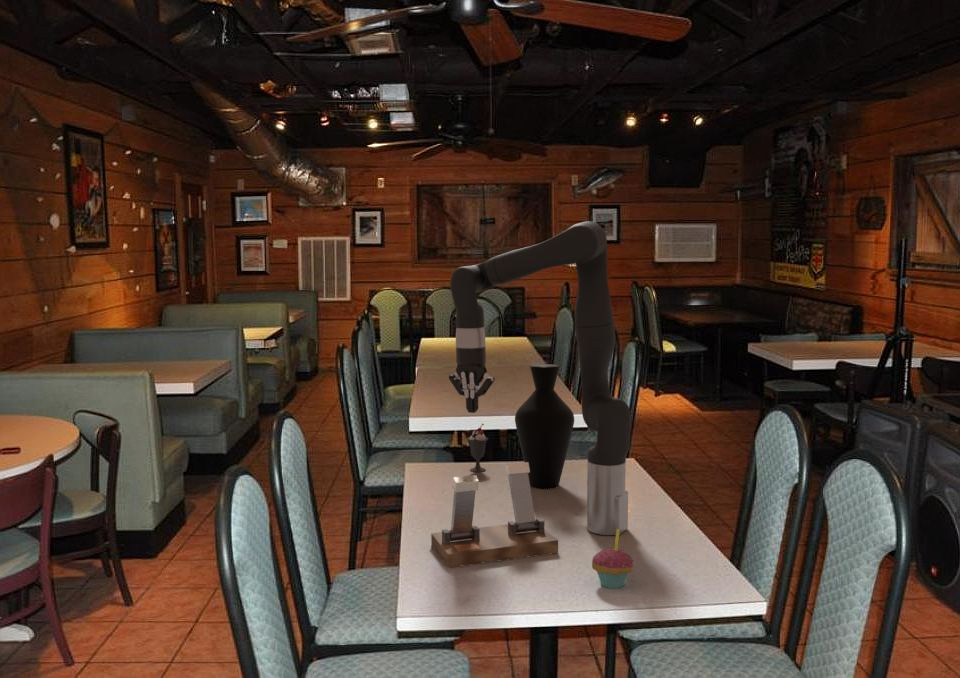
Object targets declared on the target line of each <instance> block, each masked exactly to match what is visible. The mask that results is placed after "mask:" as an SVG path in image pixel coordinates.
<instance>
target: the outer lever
mask: <svg viewBox="0 0 960 678" xmlns="http://www.w3.org/2000/svg"><path fill="white" fill-rule="evenodd" d="M479 484H480V480H479V478H478V477H477V475H476V474H472V475H471V474H470V475H463V476H454V477H452V489H453V490H454V491H453V492H454V493H453V504H452V513H451V522H450V523H451V526H450V530H448V531H449V532H450V541H457V540H465V539H472V538H473V530H472V526H473V519H474V510H475V501H476V500H475V499H476V491H478V490H479Z"/></svg>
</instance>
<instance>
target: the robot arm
mask: <svg viewBox="0 0 960 678" xmlns="http://www.w3.org/2000/svg"><path fill="white" fill-rule="evenodd" d="M572 264H573V265H574V264H575V268H576V273H577V293H576V299H575V307H574V328H575V336H576V344H577V349H578V350H577V351H578V358H579V359H578V360H579V369H580V376H581V377H580V378H581V380H580V381H581V412H582V418H583V419H582V420H583V422H584V423H585V425H586V427H588V428H589V429H590V430H593V431H595V432H597V434H596V435H597V436H596V443H595V445H593V446H591V447H590V448H589V449H588V450H587V479H586V480H587V484H586V485H587V489H586V490H587V491H586V492H587V493H586V496H587V497H586V499H587V500H586V501H587V502H586V529H587V531H589V532H590V533H593V534H596V535H601V536H602V535H603V536H616V529H618V525H619V530H620V531H619V536H620V535H621V534H623V533H624V532H625V531H626V530H628V528H629V527H628V526H629V521H628V520H629V491H628V490H626V476H627V475H626V471H627V469H626V466H627V465H626V464H627V463H626V461H627V455H628V452H629V449H630V445H631V443H630V441H631V431H632V430H631V429H632V428H631V427H632V414H631V410H630V407H629V405H628V403H627V402H626V401H624V400H623V399H621V398H618V397H615V396H613V395H611V391H610V385H609V375H608V373H609V366H610V364H611V363H610V362H611V360H612V357H613V354H614V351H615V347H616V331H615V322H614V315H613V308H612V307H613V305H612V298H611V294H610V285H609V279H608V277H609V276H608V239H607V234H606V231H605V230H604V229H603V227H602V226H601V225H600V224H598V223H597V222H595V221H591V220H590V221H588V220H587V221H582V222H578V223H575V224H573V225H572V226H569V228H567V229H566V230H564V231H561V233H558V234H557V235H555V236H552V237H551V238H548V239H547V240H545V241H542V242H540V243H537V244H533V245H530V246H526V247H522V248H518V249H513V250H511V251H508V252H504V253H501V254H498V255H495V256H493V257H491V258H489V259H488V260H487V261H483V262H480V263H477V264H474V265H466V266H459V267H457V268H456V269H454V270H453V272H452V274H451V277H450V282H449V283H450V292H451V298H452V302H453V305H454V308H455V319H456V320H455V323H456V324H455V326H456V329H455V357H456V358H455V360H456V364H457V365H456V367H455V368H456V369H455V372H453V374H450V375H448V380H449V381H450V382H451V384H452V385H453V388H455V389H454V390H456V392H457V393H458V395H459V396H463V397H464V398H465V409H466V410H467V413H471V414H474V413H476V412H477V411H478V410H479V398H480V397H482V396H485V394H487V392H488V390H489V389H490V388H491V386H492V385H493V384H494V382H495V380H496V379H495V376H491V375H489V374H488V373H487V372H488V370H487V368H486V362H487V358H486V357H487V356H486V353H487V352H486V351H487V349H486V348H487V347H486V332H485V317H484V316H485V312H484V311H485V310H484V307H483V306H482V305H481V304H480V303H478V296H477V293H480V292H484V291H487V290H489V289H491V288H494V287H496V286H499V285H503V284H507V283H510V282H513V281H516V280H519V279H523V278H525V277H528V276H530V275H533V274H534V273H538V272H540V271H541V272H542V270H543V271H544V270H547V269H550V268H553V267H554V268H555V267H558V266H565V265H572ZM482 382H483V383H482ZM481 383H482V385H481Z"/></svg>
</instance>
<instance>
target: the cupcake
mask: <svg viewBox="0 0 960 678" xmlns="http://www.w3.org/2000/svg"><path fill="white" fill-rule="evenodd" d="M619 531H620V530H619V525H618V529H616V535H615V542H614V548H613V549H612V548H611V549H610V548H604V549H602V550H600V551H599V552H597V553H595V554H594V555H593V557H592V561H591V568H592V570H594V571H596V573H597V575H598V579H599V583H600V584H601V585H602V586H603V587H604V588H608V589H618V588H619V589H620V588H622V587H623V586H624V585H625V583H626V579H627V577H628V575H629V574H630V573H631V572H632V571H633V568H634V564H633V563H634V559H632V556H631V555H630V554H628V553H627V552H626V551H623V550H621V549H619V539H620V535H619Z"/></svg>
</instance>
